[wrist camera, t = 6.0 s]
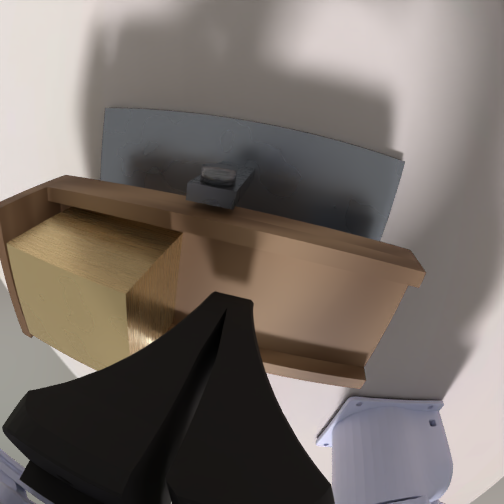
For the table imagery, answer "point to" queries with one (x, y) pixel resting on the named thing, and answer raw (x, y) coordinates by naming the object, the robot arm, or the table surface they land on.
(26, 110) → the table surface
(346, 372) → the balance beam
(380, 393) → the table surface
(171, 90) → the table surface
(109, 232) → the block
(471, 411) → the table surface
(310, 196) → the pivot stand
